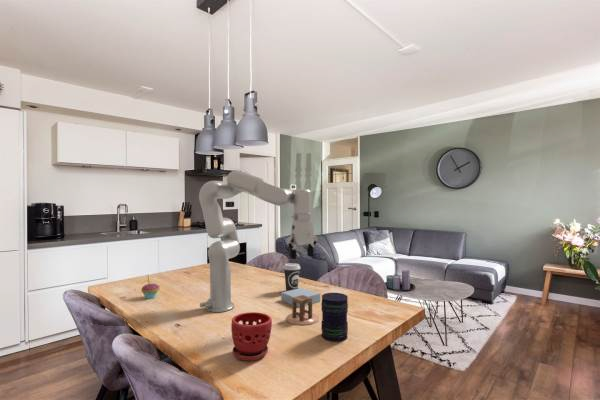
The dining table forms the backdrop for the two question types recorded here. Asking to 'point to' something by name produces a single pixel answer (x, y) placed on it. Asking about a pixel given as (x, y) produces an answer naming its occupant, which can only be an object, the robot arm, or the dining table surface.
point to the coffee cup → (291, 276)
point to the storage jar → (334, 317)
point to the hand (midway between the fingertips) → (301, 257)
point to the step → (290, 294)
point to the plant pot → (251, 335)
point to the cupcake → (150, 290)
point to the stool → (302, 306)
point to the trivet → (305, 322)
